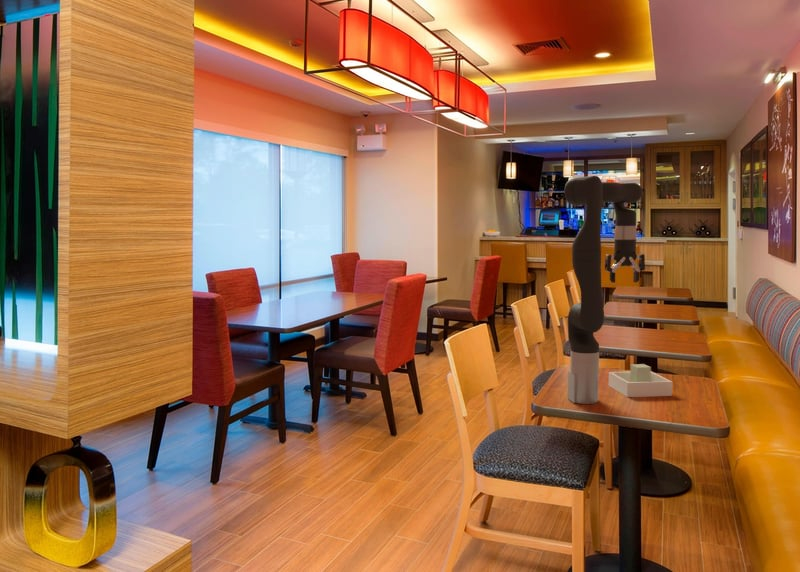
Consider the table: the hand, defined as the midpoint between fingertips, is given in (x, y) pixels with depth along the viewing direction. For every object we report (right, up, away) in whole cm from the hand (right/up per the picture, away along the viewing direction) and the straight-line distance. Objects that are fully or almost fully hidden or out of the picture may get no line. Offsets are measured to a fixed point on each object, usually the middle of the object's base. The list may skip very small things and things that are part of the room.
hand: (624, 282), depth 226 cm
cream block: (+3, -38, -6) cm, 38 cm away
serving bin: (+3, -39, -6) cm, 39 cm away
